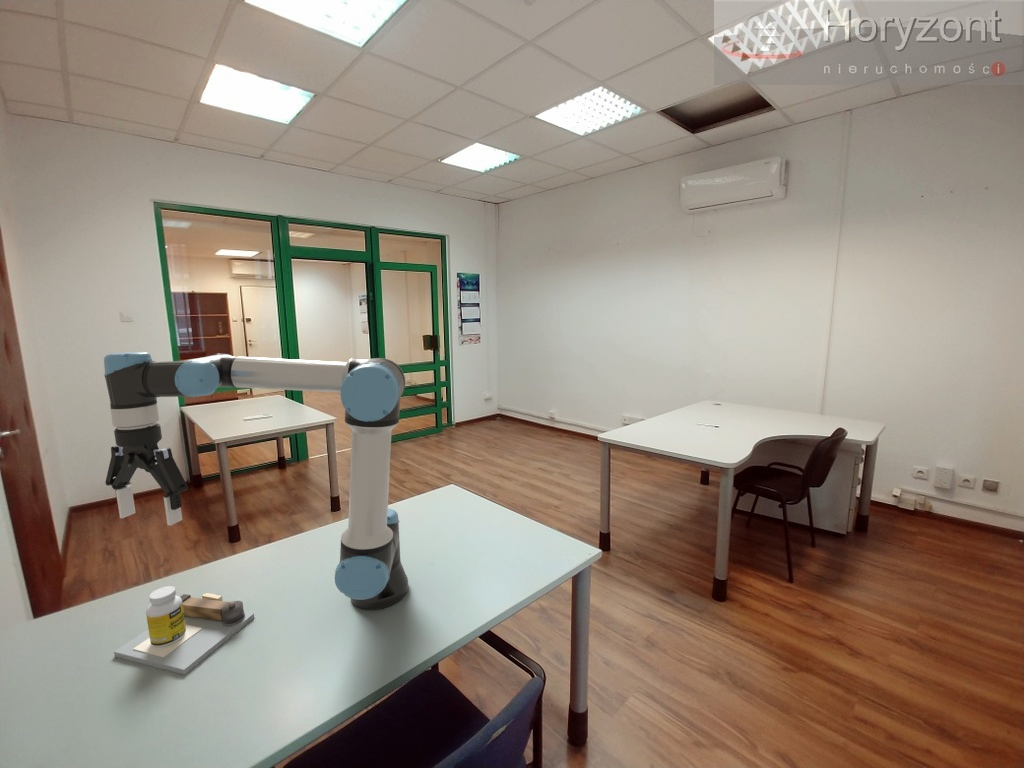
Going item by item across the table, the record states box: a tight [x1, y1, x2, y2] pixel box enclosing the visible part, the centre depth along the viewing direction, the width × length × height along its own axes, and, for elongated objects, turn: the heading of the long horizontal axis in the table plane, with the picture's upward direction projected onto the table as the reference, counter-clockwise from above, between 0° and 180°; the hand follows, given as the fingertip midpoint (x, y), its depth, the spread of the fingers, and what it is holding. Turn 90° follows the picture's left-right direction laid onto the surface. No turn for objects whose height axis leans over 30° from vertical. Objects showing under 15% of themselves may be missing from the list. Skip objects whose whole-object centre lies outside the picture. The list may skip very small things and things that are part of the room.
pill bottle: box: [145, 585, 186, 647], centre depth 100 cm, size 6×6×12 cm
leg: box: [179, 593, 245, 624], centre depth 108 cm, size 18×4×4 cm, turn 80°
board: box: [113, 592, 255, 675], centre depth 103 cm, size 20×18×4 cm
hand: (151, 519), depth 96 cm, fingers open, 13 cm apart
